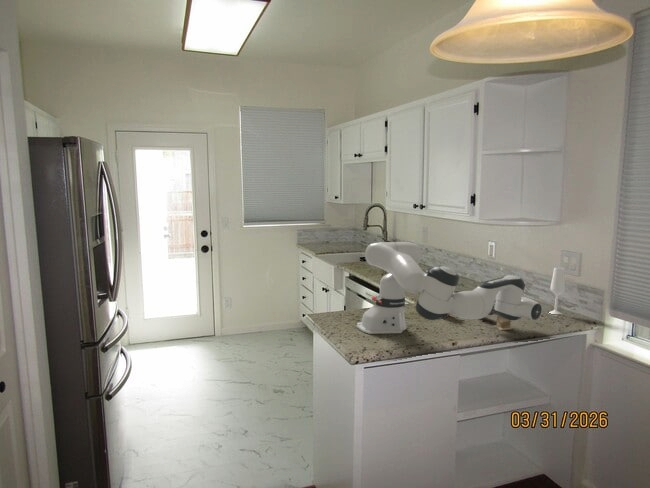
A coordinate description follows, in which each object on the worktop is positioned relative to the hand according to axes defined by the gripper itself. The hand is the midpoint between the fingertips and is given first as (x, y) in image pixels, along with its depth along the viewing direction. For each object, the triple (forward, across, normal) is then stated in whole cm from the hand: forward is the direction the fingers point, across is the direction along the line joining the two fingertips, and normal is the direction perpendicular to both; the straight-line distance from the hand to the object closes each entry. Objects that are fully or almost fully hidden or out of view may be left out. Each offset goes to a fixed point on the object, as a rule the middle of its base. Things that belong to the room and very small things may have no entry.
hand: (489, 295), depth 213 cm
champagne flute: (+2, +44, -13) cm, 46 cm away
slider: (+2, 0, -10) cm, 10 cm away
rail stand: (-1, 0, -13) cm, 13 cm away
